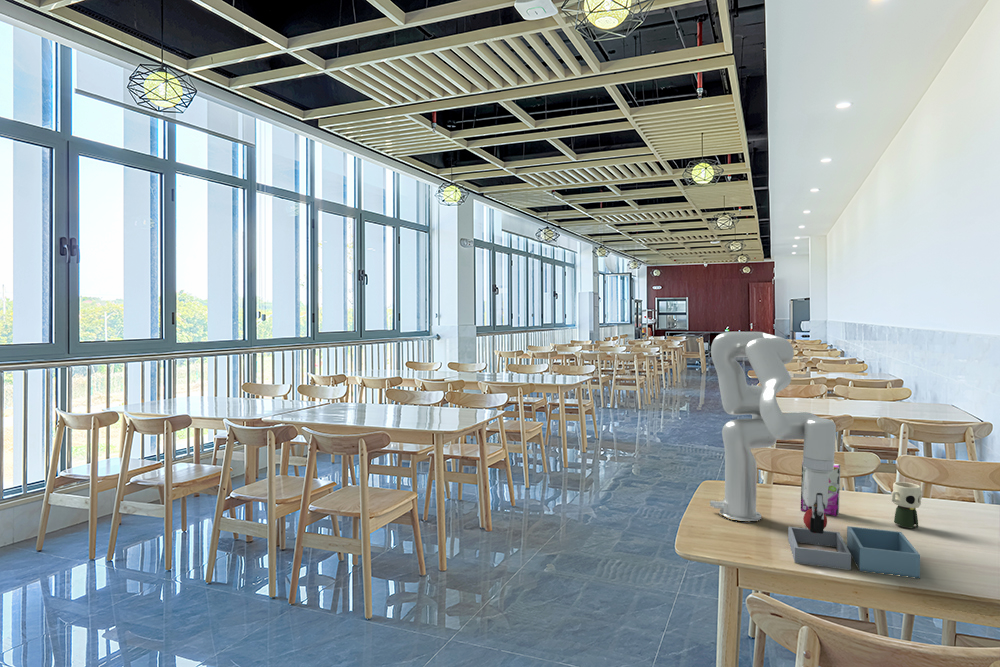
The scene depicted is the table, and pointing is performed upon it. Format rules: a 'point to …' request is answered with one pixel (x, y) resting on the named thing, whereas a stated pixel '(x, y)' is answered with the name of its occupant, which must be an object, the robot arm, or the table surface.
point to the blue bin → (883, 552)
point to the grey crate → (819, 556)
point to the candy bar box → (832, 492)
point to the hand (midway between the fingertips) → (814, 527)
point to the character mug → (906, 503)
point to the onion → (808, 516)
